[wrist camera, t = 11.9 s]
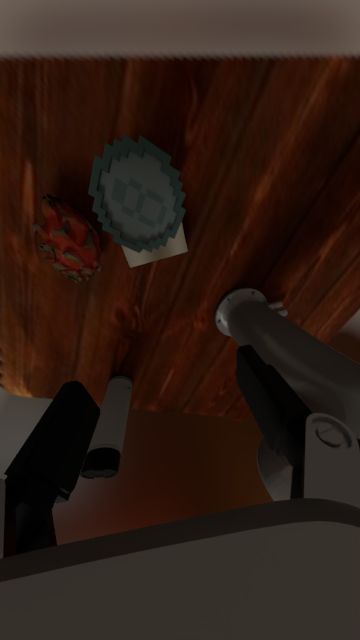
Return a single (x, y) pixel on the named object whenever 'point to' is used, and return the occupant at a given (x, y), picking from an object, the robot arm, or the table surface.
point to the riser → (169, 250)
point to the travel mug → (109, 431)
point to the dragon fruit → (69, 240)
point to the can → (137, 194)
